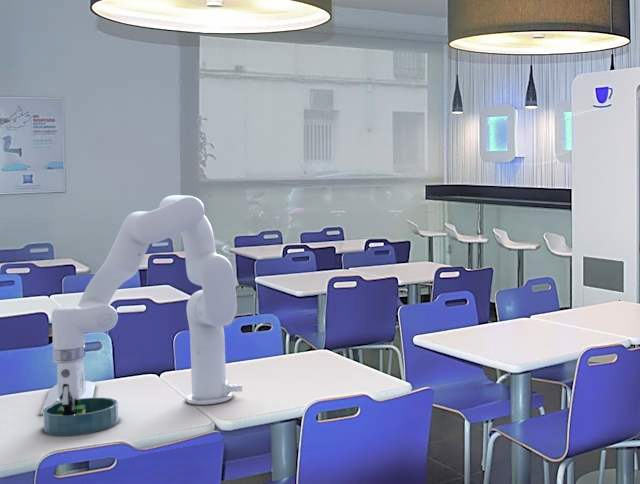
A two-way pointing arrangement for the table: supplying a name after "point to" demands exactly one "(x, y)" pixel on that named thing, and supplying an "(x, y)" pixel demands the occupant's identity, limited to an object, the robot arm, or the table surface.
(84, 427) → the bowl
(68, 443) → the table surface
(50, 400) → the crown molding
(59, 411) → the sponge
